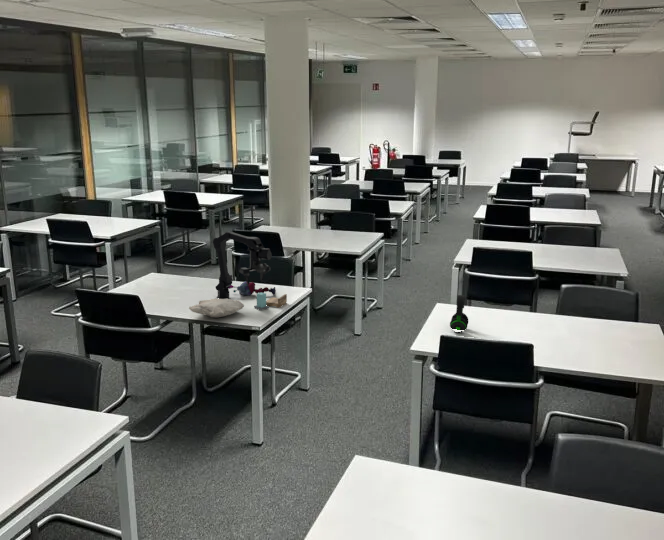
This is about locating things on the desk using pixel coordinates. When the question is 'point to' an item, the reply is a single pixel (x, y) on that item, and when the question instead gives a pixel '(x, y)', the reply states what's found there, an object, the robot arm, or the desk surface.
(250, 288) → the toy
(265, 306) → the gray block
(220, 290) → the robot arm
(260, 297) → the teal block
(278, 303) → the tan piece
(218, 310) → the decorative stone
